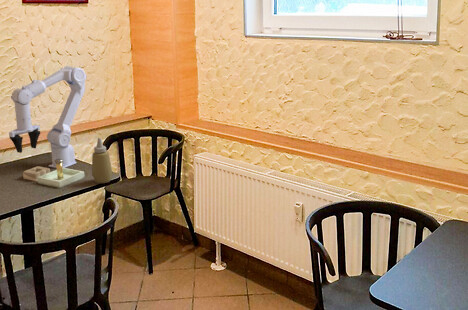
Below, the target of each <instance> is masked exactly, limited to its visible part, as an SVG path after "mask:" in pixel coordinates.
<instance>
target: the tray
mask: <svg viewBox="0 0 468 310" xmlns="http://www.w3.org/2000/svg"><path fill="white" fill-rule="evenodd" d="M63 176H64V179H62V180H58V178H57V169H55V170H53V171H50V173H47V174H44V175H42V176H39V177H37V181H36V182H37V184H39V185H44V186H49V187H54V188H60V189H61V188H63V187H65V186H68V185H70V184H73V183H75V182H78V181H79V180H81V179H84V178H86V177H85V171H84V170H77V169H71V168H68V167H66V168H63Z"/></svg>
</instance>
